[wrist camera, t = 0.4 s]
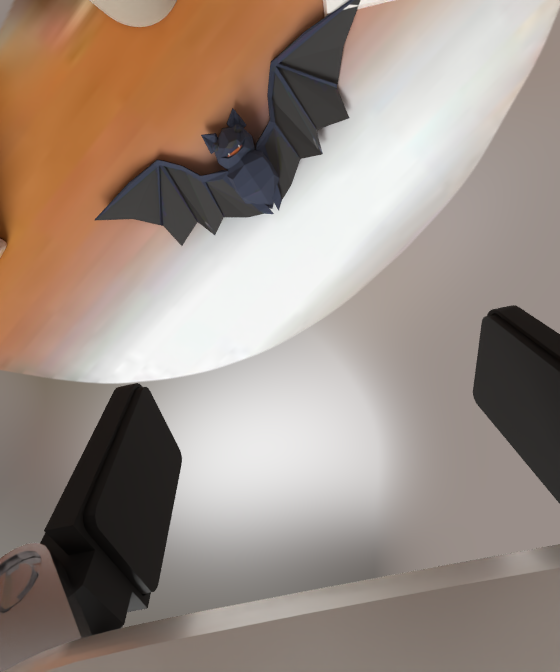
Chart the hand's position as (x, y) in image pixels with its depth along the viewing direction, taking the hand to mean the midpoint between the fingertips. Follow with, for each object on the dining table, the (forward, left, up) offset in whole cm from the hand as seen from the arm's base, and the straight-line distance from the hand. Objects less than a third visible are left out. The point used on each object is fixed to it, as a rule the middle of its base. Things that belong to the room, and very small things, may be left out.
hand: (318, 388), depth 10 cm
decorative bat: (-4, -1, -30) cm, 30 cm away
